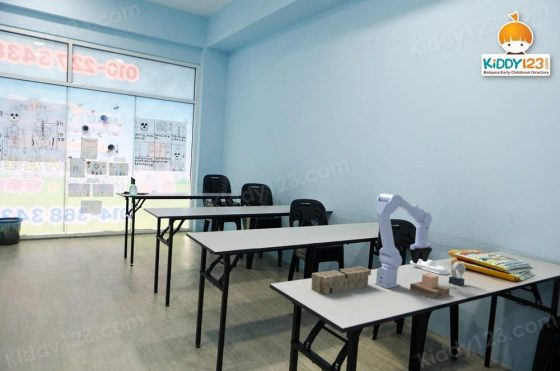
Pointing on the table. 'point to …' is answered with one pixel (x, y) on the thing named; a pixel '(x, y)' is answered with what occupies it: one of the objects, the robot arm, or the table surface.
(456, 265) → the watch
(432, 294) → the base block
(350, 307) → the table surface
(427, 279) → the cube
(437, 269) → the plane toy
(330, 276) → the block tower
